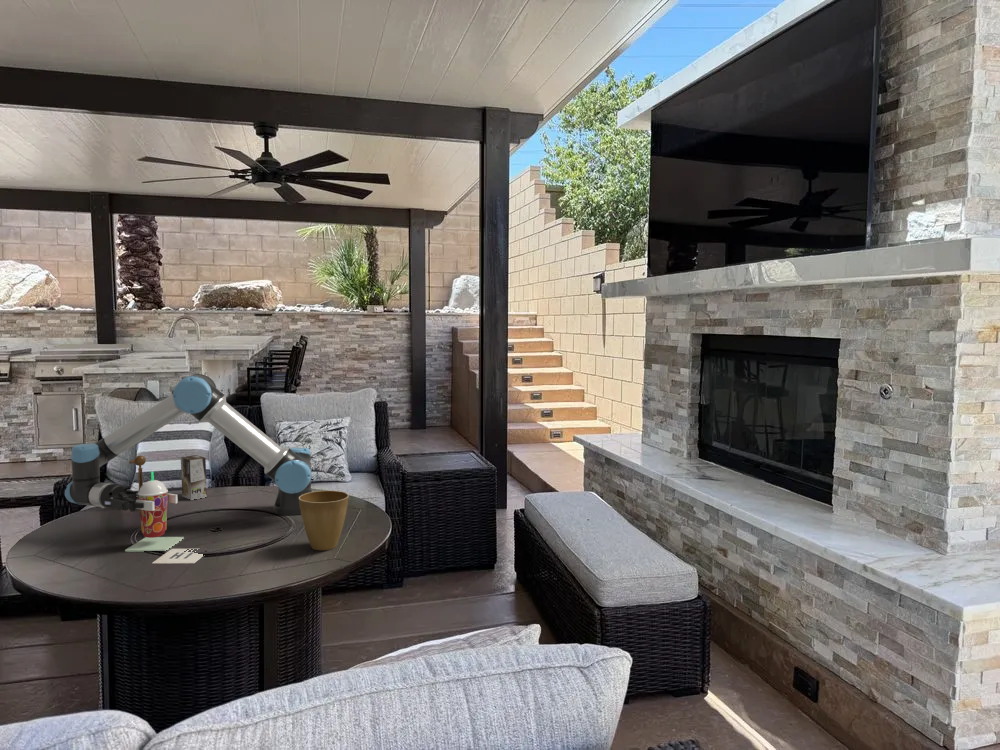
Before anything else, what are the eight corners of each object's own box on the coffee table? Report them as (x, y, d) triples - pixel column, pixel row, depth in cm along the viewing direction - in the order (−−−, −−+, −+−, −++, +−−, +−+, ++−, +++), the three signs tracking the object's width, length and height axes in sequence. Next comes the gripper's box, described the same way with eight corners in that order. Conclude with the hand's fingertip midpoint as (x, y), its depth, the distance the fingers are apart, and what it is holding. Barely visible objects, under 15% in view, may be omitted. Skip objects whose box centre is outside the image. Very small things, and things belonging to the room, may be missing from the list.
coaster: (183, 538, 210) (183, 536, 210) (165, 551, 198) (165, 549, 198) (145, 538, 210) (145, 537, 210) (125, 551, 198) (125, 549, 198)
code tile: (211, 549, 201) (211, 548, 201) (194, 563, 189) (194, 562, 189) (171, 549, 200) (171, 548, 200) (151, 563, 188) (151, 562, 188)
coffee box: (207, 497, 260) (206, 457, 259) (190, 500, 255) (189, 460, 254) (197, 493, 266) (196, 454, 265) (181, 496, 262) (180, 456, 260)
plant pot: (331, 557, 194) (330, 504, 193) (289, 551, 199) (288, 499, 198) (358, 541, 208) (358, 492, 206) (319, 536, 213) (318, 488, 212)
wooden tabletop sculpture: (133, 511, 241) (130, 457, 239) (129, 508, 244) (127, 455, 243) (150, 508, 245) (148, 455, 243) (147, 505, 248) (145, 453, 247)
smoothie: (146, 531, 208) (144, 468, 206) (173, 530, 208) (171, 468, 207) (133, 539, 199) (131, 474, 198) (162, 539, 200) (160, 474, 199)
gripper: (137, 499, 219) (191, 505, 212) (79, 516, 199) (136, 524, 192) (136, 477, 219) (191, 482, 211) (78, 491, 199) (136, 498, 191)
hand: (165, 502), depth 202 cm, fingers closed on smoothie, 8 cm apart
